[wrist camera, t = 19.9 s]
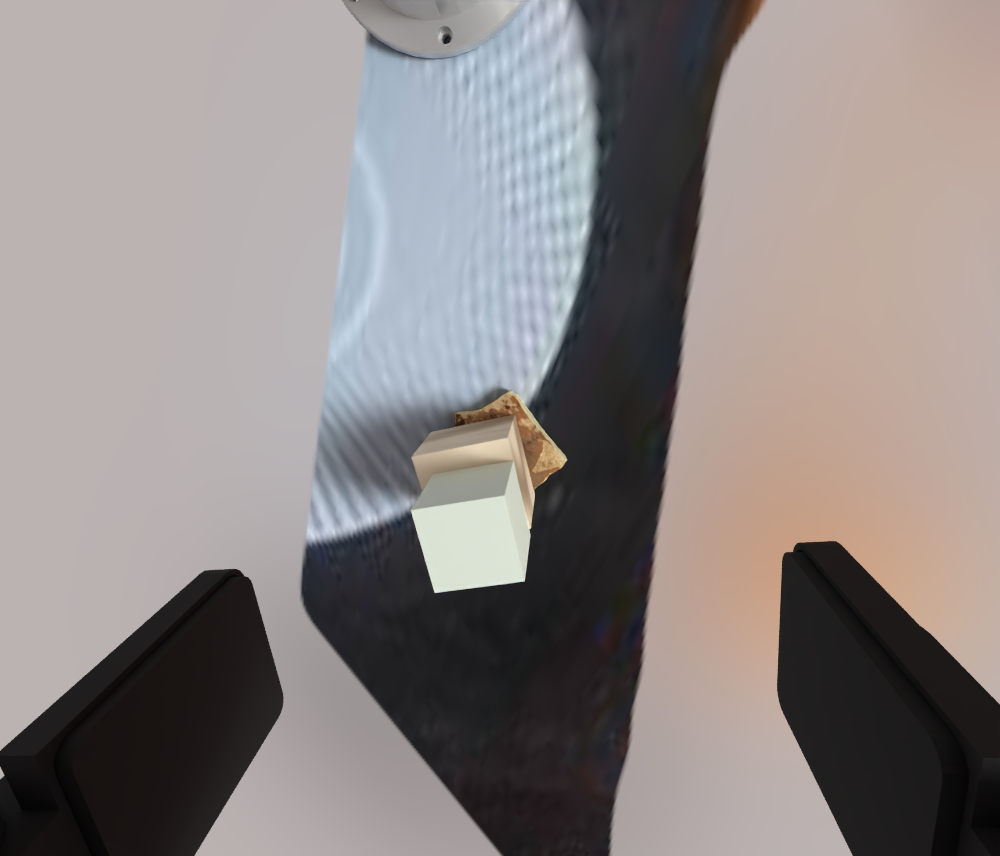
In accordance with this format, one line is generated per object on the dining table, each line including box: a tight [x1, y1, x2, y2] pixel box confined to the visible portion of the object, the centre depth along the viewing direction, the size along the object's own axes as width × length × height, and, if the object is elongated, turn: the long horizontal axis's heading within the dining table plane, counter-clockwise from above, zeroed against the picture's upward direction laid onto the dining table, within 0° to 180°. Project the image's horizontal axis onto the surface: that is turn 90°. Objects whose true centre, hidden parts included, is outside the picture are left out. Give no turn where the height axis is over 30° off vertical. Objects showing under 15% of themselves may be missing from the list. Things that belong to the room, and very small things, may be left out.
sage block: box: [411, 461, 530, 593], centre depth 31 cm, size 5×5×5 cm
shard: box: [455, 391, 567, 489], centre depth 39 cm, size 11×8×2 cm
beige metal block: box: [411, 415, 535, 529], centre depth 36 cm, size 6×6×5 cm
